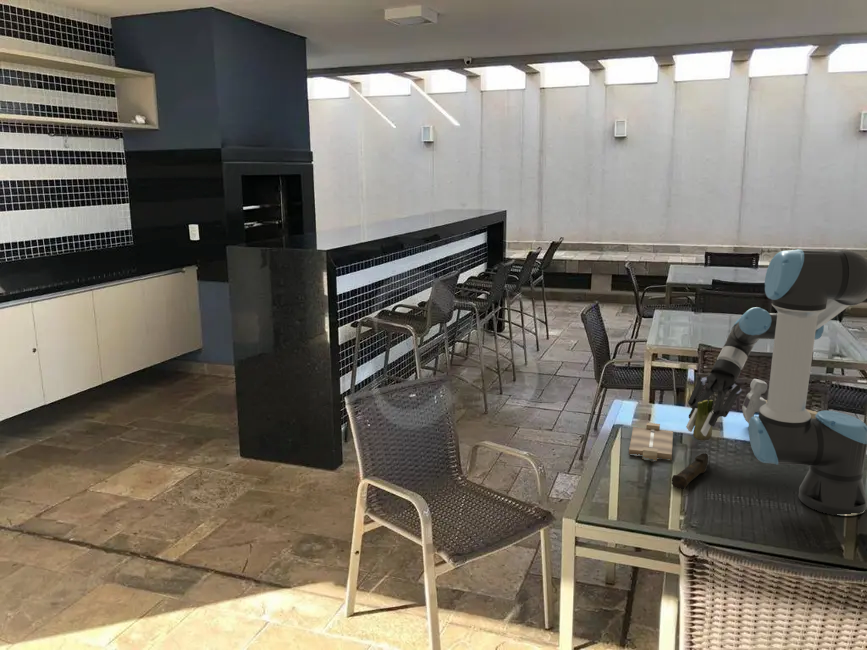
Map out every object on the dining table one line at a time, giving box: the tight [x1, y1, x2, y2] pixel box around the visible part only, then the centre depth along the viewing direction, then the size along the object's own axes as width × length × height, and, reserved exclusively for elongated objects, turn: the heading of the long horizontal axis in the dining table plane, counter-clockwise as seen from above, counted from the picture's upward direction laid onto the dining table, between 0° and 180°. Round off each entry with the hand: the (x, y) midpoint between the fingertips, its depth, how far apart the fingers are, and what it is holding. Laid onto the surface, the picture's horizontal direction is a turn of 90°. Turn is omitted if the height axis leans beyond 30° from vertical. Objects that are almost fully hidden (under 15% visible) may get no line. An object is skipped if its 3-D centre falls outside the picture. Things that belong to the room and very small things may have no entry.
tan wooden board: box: [628, 422, 674, 462], centre depth 213 cm, size 22×12×3 cm, turn 161°
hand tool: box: [671, 452, 709, 490], centre depth 193 cm, size 19×4×5 cm, turn 134°
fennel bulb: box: [692, 399, 714, 441], centre depth 203 cm, size 6×5×12 cm
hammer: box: [741, 378, 818, 424], centre depth 224 cm, size 16×5×30 cm
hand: (695, 431), depth 202 cm, fingers closed on fennel bulb, 4 cm apart
